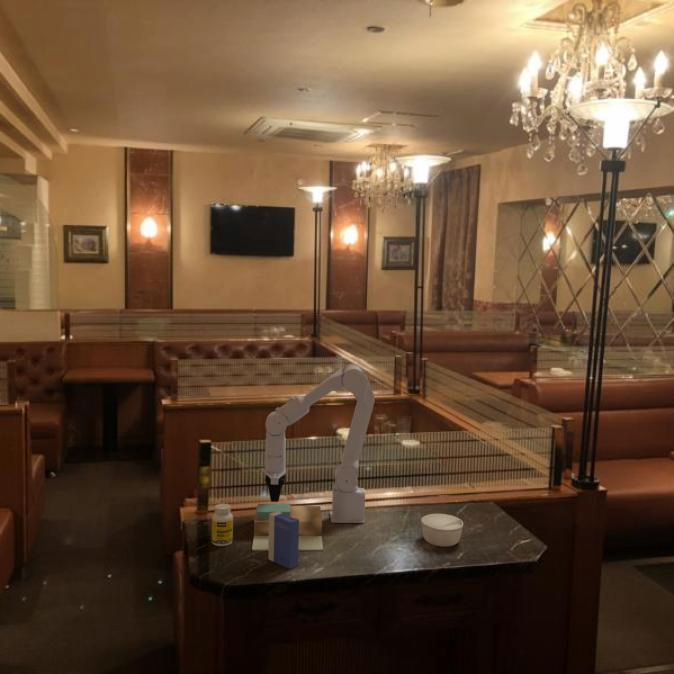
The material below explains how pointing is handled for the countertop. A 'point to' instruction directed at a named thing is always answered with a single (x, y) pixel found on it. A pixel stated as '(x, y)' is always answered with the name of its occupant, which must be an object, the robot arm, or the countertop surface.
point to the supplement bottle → (222, 525)
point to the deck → (306, 514)
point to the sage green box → (272, 510)
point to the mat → (304, 545)
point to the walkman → (283, 539)
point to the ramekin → (441, 529)
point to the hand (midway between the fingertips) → (274, 501)
